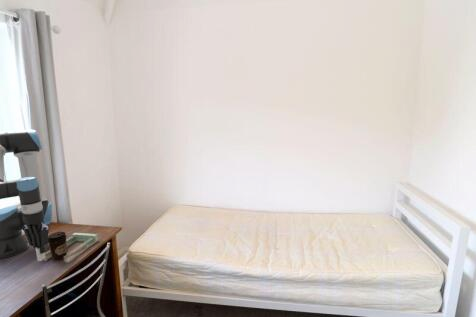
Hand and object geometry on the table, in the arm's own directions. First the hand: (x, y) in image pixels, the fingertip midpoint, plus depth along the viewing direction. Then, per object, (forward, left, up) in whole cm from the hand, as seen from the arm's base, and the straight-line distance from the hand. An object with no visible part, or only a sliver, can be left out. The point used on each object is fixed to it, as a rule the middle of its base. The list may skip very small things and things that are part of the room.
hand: (41, 259), depth 127 cm
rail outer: (+6, +17, -6) cm, 19 cm away
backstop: (-1, +28, -6) cm, 29 cm away
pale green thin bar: (-7, +17, -6) cm, 19 cm away
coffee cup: (0, +10, -6) cm, 12 cm away
